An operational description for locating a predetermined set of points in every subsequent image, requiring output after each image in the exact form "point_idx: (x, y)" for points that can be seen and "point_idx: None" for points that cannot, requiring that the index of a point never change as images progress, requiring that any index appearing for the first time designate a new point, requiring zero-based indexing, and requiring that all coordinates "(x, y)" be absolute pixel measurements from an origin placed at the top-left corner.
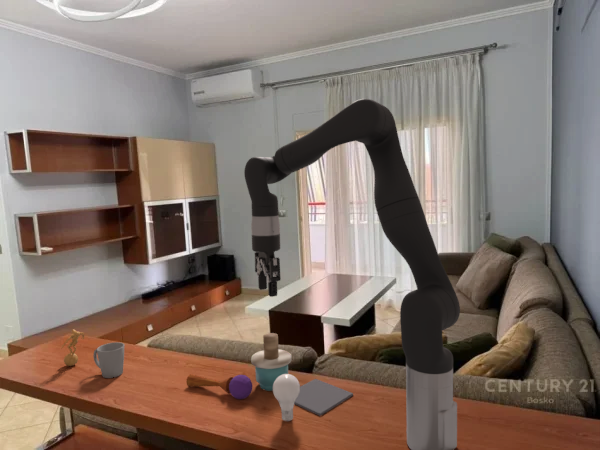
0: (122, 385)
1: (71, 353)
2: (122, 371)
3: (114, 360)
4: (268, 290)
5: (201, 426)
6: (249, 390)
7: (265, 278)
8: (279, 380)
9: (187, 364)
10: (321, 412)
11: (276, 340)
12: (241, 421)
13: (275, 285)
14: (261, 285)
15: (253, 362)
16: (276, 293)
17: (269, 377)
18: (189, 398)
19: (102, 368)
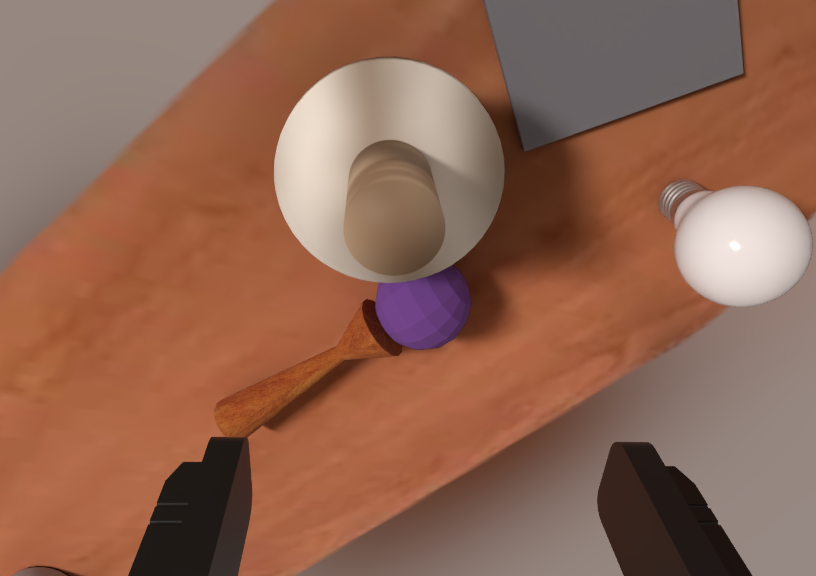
0: None
1: None
2: (45, 572)
3: None
4: (623, 562)
5: (529, 421)
6: (464, 279)
7: (215, 564)
8: (766, 301)
9: (23, 390)
10: (740, 63)
11: (437, 197)
12: (577, 324)
13: (739, 573)
14: (240, 525)
15: (403, 280)
16: (682, 474)
17: None
18: (339, 424)
19: None
